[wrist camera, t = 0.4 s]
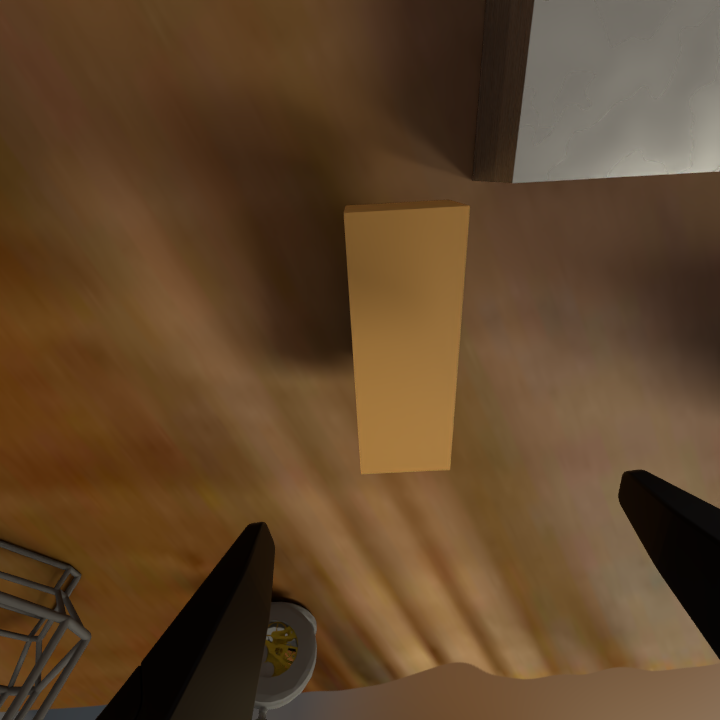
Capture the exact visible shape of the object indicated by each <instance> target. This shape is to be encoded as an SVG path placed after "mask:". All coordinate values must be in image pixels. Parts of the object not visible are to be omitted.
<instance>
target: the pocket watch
mask: <svg viewBox="0 0 720 720" xmlns="http://www.w3.org/2000/svg"><path fill="white" fill-rule="evenodd" d="M316 630H317V629H316V620H315V618H314V617H313V616H312V614H311V613H310V612H309V611H308V610H307V609H305V608H303V607H301V606H299V605H296V604H293V603H288V602H271V609H270V618H269V624H268V630H267V636H266V641H265V647H264V653H263V658H262V664H261V670H260V675H259V681H258V686H257V692H256V698H255V703H254V708H256V709H259V717H258V718H259V719H256V720H267V719H265V718H266V713H267V710H268V709H274V708H279V707H281V706H283V705H285V704H287V703H289V702H290V701H292V700H293V699H294V698H295V697H297V696H298V695H299V694H300V693H301V692H302V691H303V689H304V687H305V686H306V684H307V683H308V681H309V680H310V678H311V676H312V673H313V669H314V666H315V662H316V653H317V644H316V638H315V634H316ZM287 650H290V651H292V653H293V651H294V652H296V654H293V655H292V658H293V659H294V660H293V662H292V661H289V660H288V659H287V658H290V656H291V655H289V653H288V652H287ZM285 652H286V653H287V654H288V656H289V657H287V656H285V655H284V654H285ZM277 653H278V654H277ZM292 653H291V654H292ZM283 656H284V657H283ZM285 657H286V658H285ZM287 662H288V663H290V664H291V665H290V664H288V663H287ZM281 665H282V666H281ZM285 666H286V667H287V668H285Z"/></svg>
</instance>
